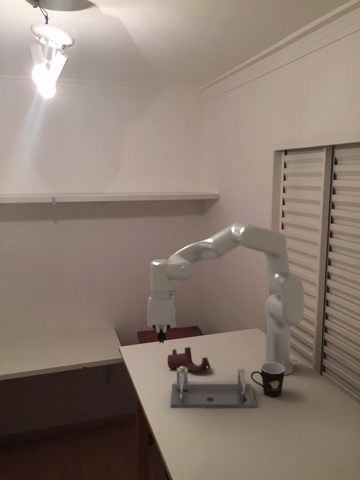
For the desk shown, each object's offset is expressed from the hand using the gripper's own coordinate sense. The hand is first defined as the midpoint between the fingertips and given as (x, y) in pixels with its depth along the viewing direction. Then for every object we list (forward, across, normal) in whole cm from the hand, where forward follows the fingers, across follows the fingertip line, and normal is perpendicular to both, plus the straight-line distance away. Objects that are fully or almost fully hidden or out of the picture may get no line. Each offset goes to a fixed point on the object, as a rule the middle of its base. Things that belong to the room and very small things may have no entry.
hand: (161, 341), depth 156 cm
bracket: (+20, -10, -17) cm, 28 cm away
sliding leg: (+18, -8, +3) cm, 20 cm away
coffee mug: (+20, -40, +1) cm, 44 cm away
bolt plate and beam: (+20, -19, +4) cm, 27 cm away
